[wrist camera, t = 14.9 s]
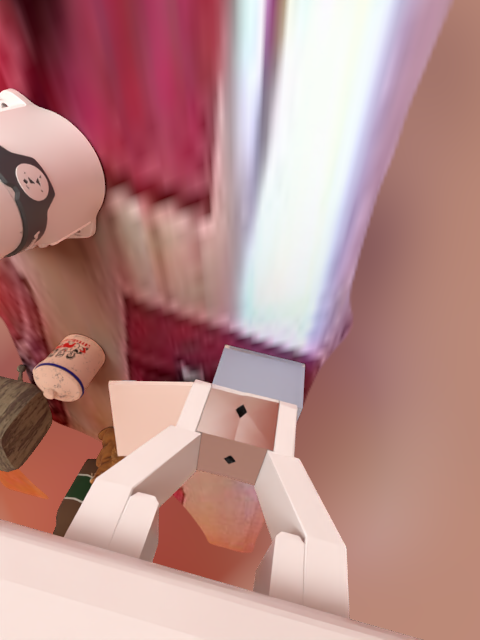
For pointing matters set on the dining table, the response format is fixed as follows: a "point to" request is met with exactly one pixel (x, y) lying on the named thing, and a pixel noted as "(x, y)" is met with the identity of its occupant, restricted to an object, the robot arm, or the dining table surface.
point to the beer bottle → (74, 497)
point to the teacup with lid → (69, 368)
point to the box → (261, 375)
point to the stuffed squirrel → (106, 453)
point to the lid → (144, 410)
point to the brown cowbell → (21, 420)
